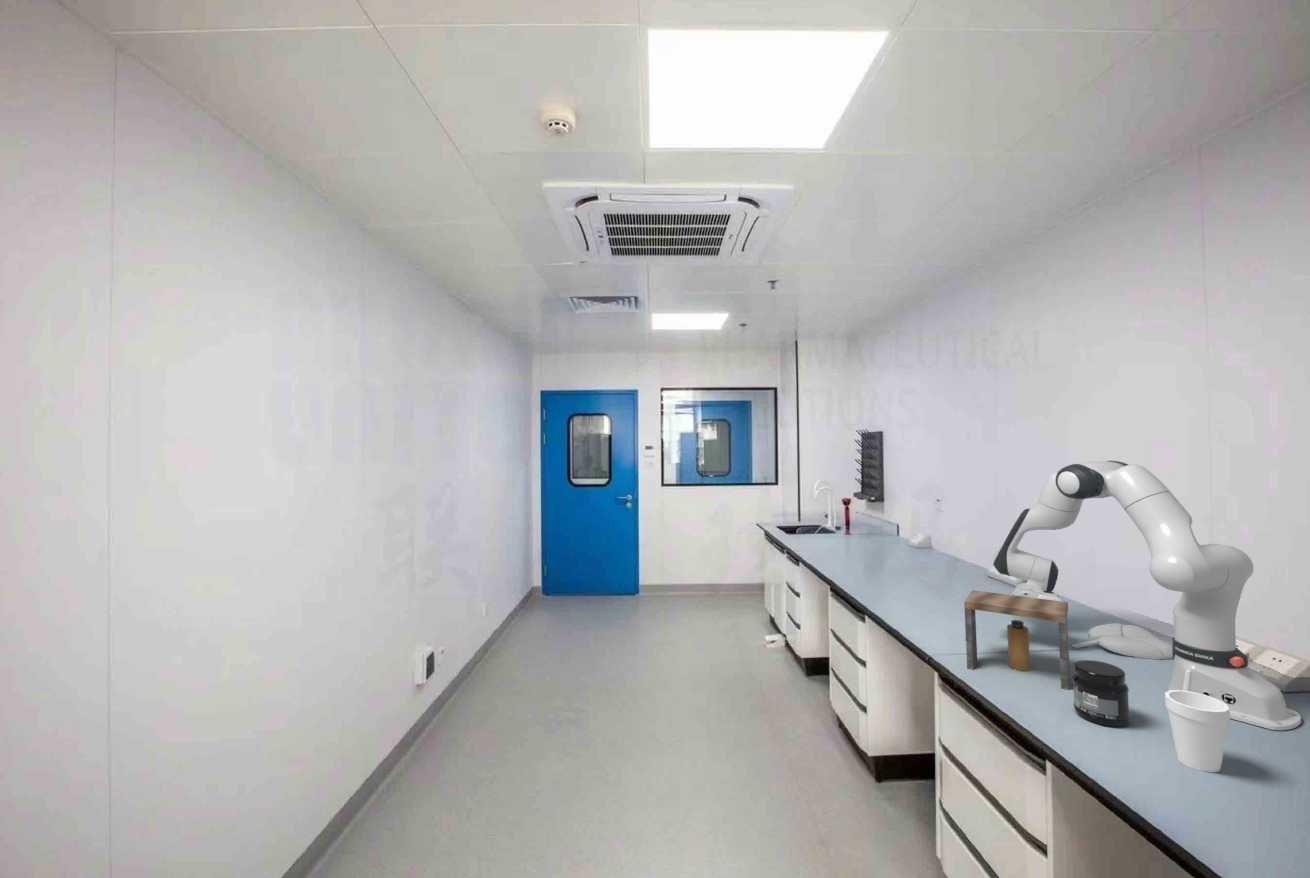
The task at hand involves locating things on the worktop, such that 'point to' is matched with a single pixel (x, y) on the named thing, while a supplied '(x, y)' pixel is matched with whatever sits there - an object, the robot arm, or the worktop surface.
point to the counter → (1017, 608)
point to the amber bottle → (1018, 646)
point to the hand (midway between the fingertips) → (1023, 610)
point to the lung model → (1128, 641)
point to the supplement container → (1101, 693)
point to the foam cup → (1198, 728)
